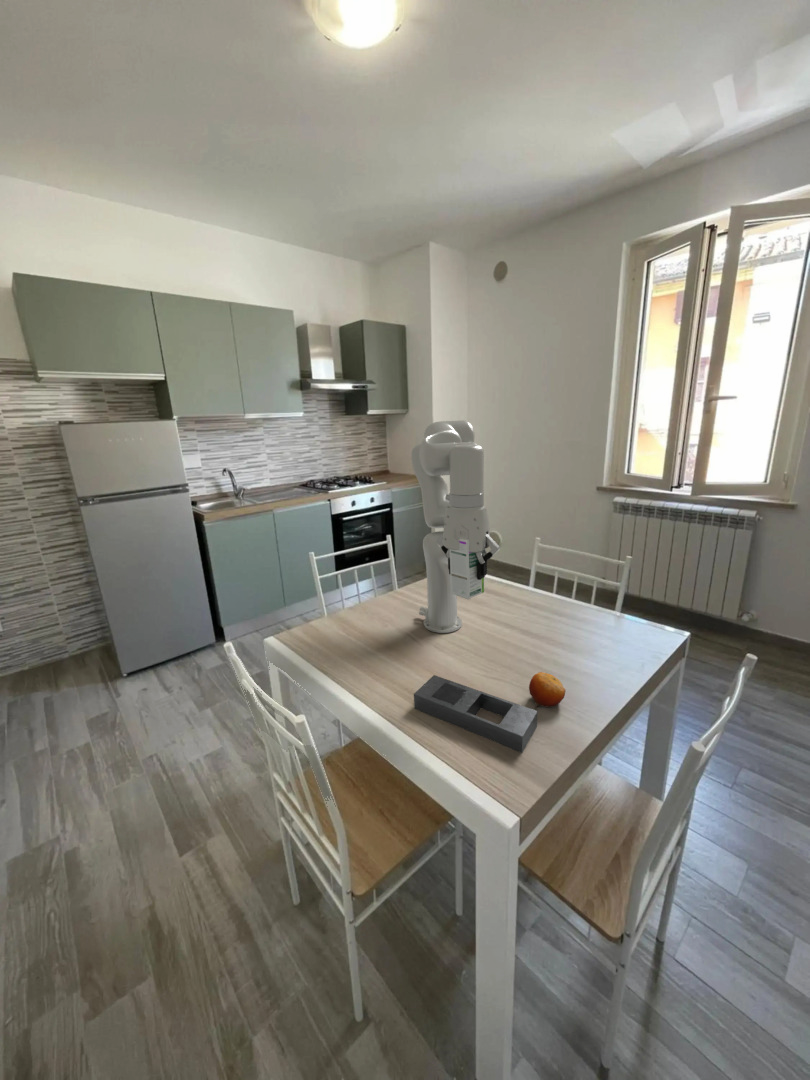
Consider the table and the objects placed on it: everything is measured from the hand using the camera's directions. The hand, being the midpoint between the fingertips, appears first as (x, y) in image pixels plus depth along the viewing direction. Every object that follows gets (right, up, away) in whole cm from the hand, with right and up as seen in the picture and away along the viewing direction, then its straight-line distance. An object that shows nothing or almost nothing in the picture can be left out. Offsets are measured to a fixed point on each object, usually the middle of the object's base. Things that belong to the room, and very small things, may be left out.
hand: (467, 574), depth 100 cm
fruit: (+19, -30, 0) cm, 35 cm away
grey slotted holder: (+1, -32, -5) cm, 32 cm away
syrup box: (0, -5, +1) cm, 5 cm away
